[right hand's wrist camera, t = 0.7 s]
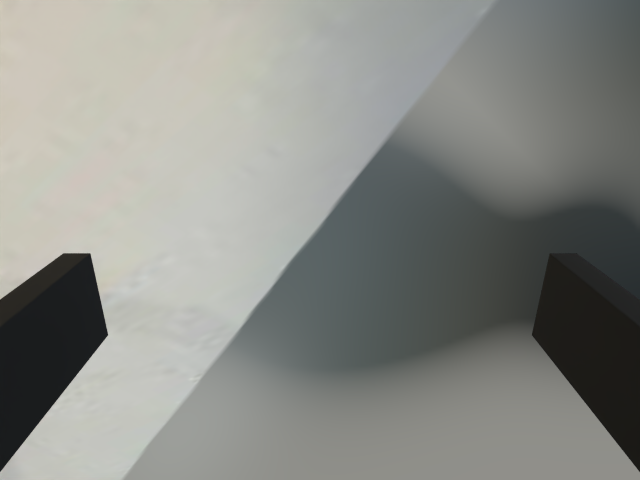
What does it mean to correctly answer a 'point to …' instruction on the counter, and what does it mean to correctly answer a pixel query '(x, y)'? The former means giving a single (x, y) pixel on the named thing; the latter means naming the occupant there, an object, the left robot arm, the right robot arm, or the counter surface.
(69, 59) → the counter surface
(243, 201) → the counter surface
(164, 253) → the counter surface
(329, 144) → the counter surface
